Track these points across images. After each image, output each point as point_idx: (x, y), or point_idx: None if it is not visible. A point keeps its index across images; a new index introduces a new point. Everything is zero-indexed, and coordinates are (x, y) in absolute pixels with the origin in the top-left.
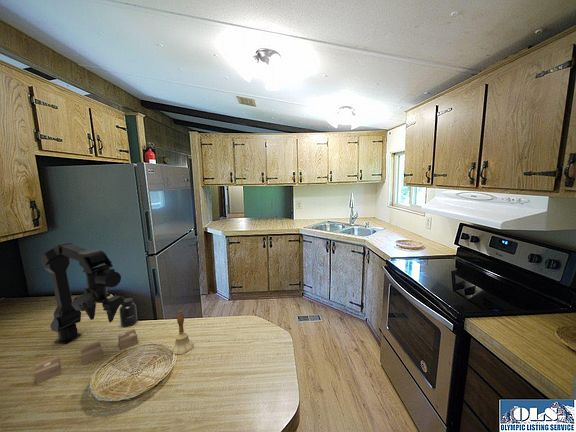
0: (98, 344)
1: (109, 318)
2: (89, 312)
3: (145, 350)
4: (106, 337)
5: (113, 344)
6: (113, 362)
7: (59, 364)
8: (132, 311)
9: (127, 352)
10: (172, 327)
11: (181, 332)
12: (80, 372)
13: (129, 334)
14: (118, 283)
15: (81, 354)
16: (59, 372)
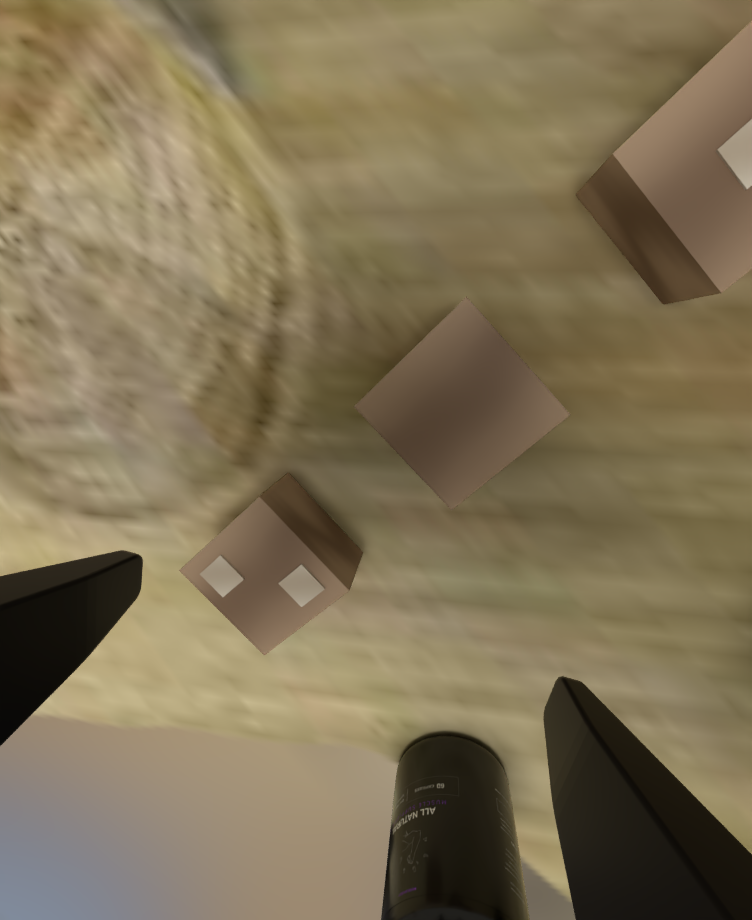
0: (425, 461)
1: (17, 576)
2: (661, 874)
3: (107, 451)
4: (515, 627)
5: (392, 537)
6: (238, 331)
7: (643, 235)
8: (389, 885)
9: (217, 438)
10: (102, 677)
11: None
12: (412, 219)
13: (241, 578)
14: None
15: (482, 316)
16: (584, 187)
